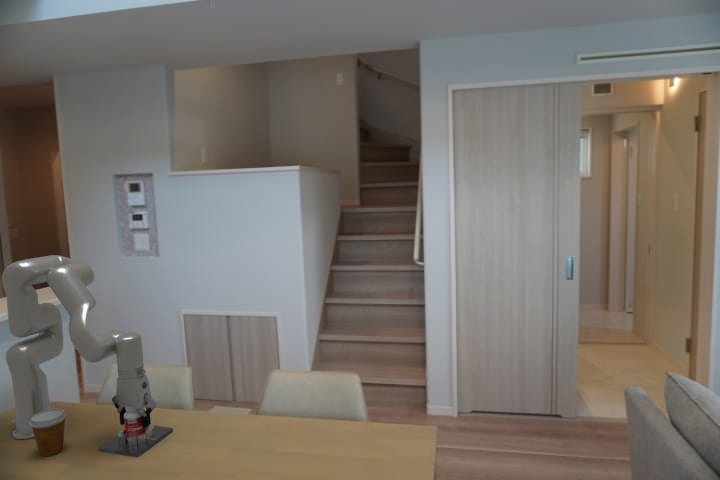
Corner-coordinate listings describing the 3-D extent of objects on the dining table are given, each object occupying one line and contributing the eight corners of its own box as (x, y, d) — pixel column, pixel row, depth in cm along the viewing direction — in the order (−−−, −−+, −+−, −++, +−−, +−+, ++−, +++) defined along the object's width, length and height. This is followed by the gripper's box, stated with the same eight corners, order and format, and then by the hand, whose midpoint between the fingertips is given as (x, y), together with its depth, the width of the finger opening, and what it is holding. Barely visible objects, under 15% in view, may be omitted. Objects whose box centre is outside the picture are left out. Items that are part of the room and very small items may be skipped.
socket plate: (98, 450, 150) (97, 439, 150) (136, 426, 165) (135, 415, 165) (137, 457, 146) (136, 445, 145) (173, 431, 161) (172, 420, 160)
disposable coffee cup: (76, 446, 153) (72, 410, 152) (45, 462, 144) (41, 424, 143) (56, 440, 157) (53, 405, 156) (26, 456, 148) (22, 418, 147)
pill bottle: (127, 444, 151) (124, 410, 150) (124, 436, 156) (121, 403, 155) (148, 438, 154) (145, 405, 153) (144, 430, 159) (142, 398, 158)
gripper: (162, 370, 154) (166, 422, 156) (118, 365, 159) (122, 416, 161) (145, 379, 147) (149, 433, 149) (99, 374, 152) (104, 427, 154)
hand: (135, 424), depth 155 cm, fingers open, 8 cm apart
